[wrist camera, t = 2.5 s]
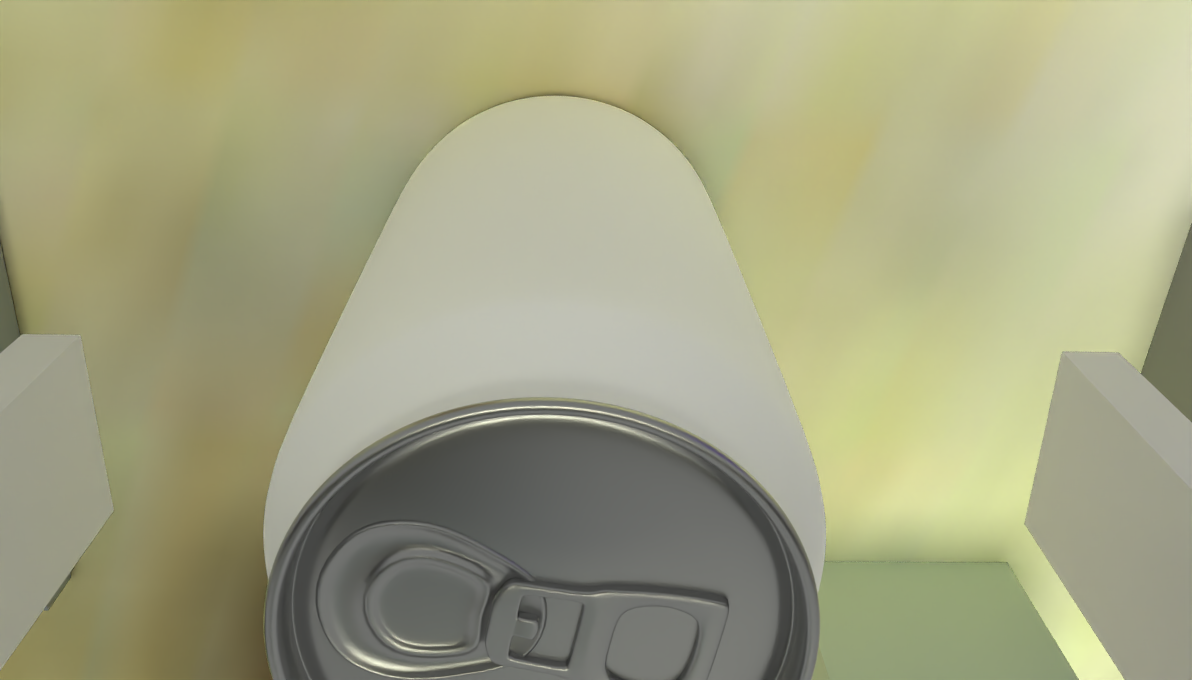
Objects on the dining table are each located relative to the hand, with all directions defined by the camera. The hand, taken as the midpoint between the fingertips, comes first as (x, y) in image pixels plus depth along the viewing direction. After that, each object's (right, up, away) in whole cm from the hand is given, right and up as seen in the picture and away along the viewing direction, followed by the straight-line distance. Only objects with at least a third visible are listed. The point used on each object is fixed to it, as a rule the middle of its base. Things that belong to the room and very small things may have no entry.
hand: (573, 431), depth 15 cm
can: (0, +3, +7) cm, 8 cm away
